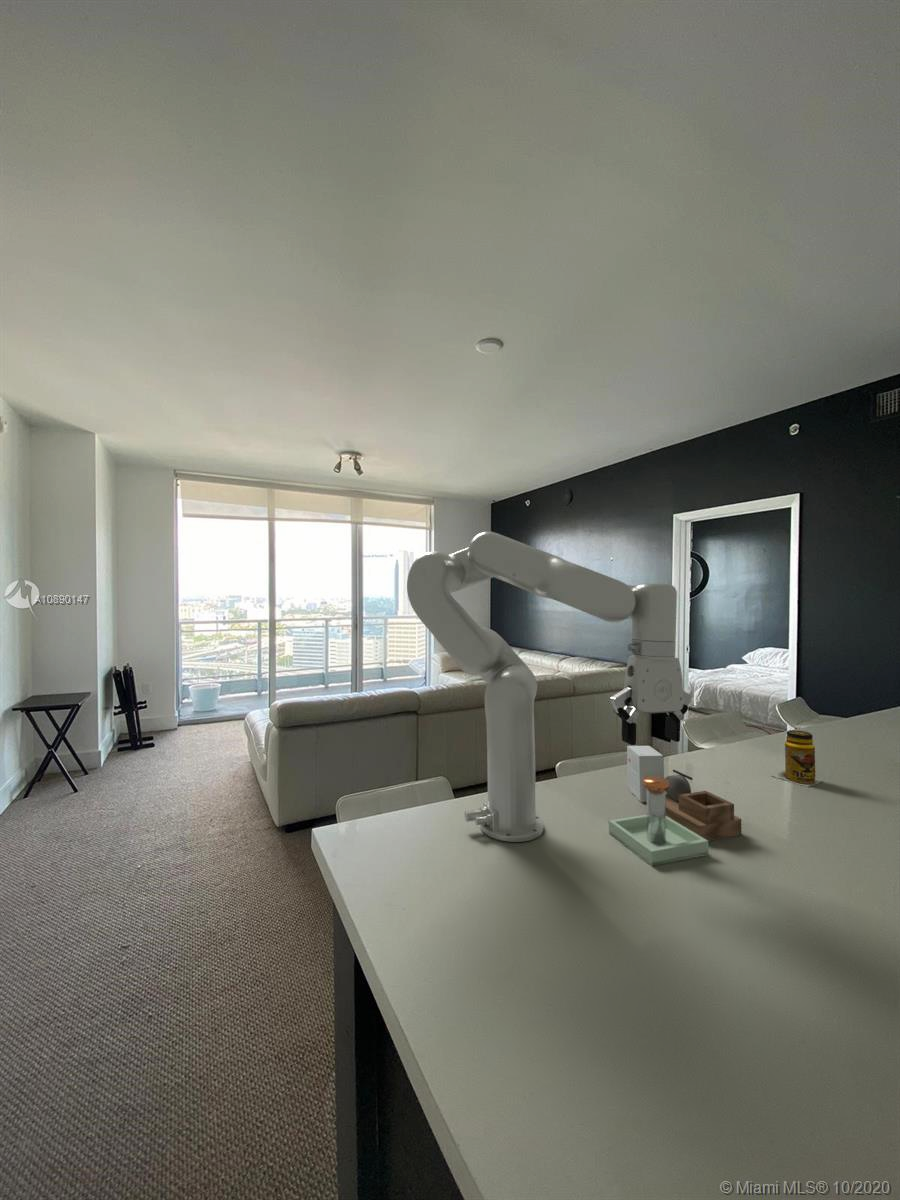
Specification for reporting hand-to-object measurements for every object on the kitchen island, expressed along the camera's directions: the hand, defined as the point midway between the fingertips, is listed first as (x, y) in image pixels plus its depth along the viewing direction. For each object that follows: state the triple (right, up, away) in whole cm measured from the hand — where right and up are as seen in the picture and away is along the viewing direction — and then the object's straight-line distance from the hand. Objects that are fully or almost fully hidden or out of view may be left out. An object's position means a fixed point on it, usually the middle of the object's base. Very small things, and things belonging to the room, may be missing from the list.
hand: (650, 741), depth 88 cm
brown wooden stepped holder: (+12, -19, +8) cm, 24 cm away
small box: (+8, -19, +22) cm, 30 cm away
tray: (+1, -19, 0) cm, 19 cm away
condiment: (+50, -19, +31) cm, 62 cm away
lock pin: (+1, -18, 0) cm, 18 cm away
